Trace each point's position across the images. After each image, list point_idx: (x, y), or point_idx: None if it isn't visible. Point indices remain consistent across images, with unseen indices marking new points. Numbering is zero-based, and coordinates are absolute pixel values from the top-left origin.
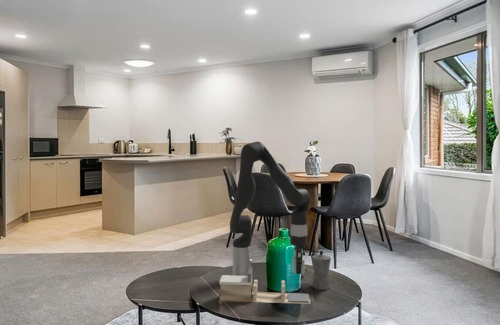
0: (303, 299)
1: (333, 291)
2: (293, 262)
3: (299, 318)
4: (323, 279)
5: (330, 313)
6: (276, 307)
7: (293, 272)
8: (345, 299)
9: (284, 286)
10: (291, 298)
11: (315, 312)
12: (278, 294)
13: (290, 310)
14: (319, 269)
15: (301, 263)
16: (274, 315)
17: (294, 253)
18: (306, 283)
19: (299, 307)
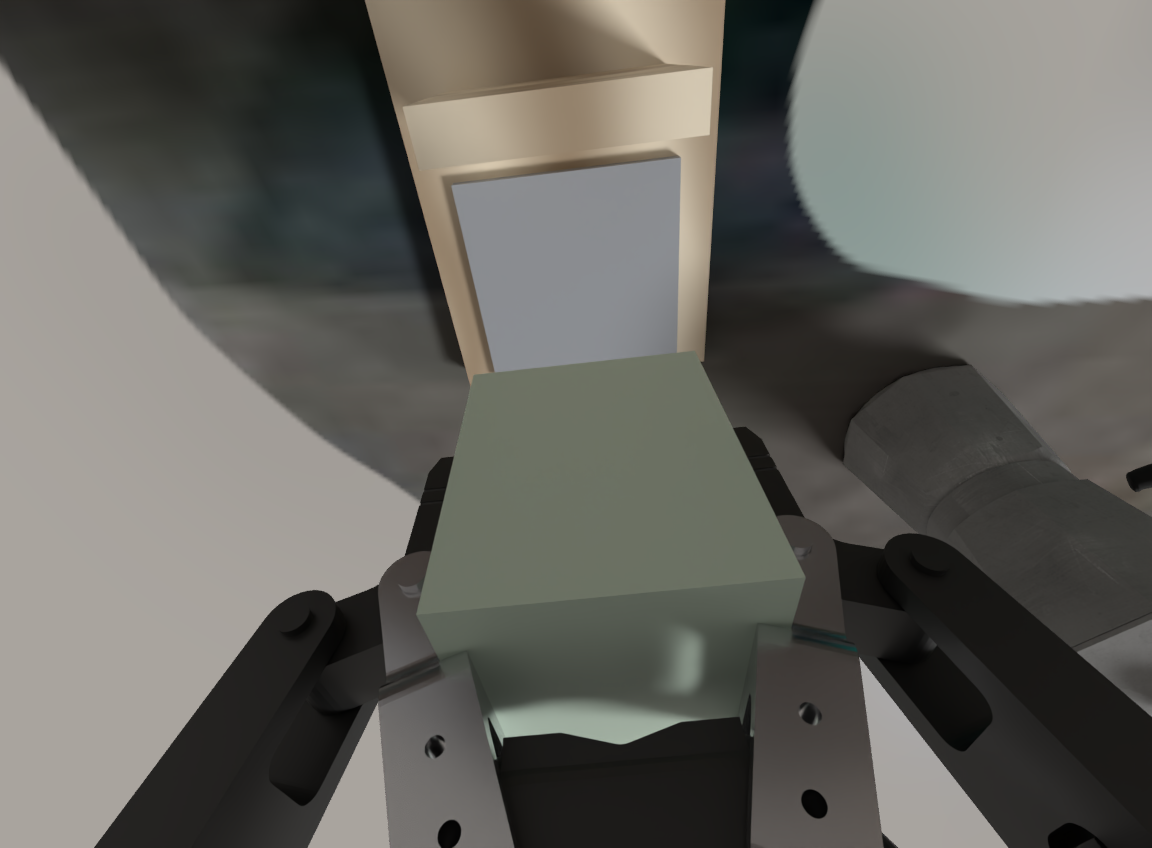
0: (527, 333)
1: (808, 498)
2: (435, 550)
3: (211, 301)
4: (899, 501)
5: (414, 485)
6: (347, 28)
7: (475, 391)
8: None
9: (423, 158)
10: (524, 215)
11: (390, 406)
12: (660, 16)
13: (338, 208)
14: (970, 551)
15: (302, 710)
16: (113, 29)
17: (834, 739)
18: (1044, 316)
19: (441, 287)
